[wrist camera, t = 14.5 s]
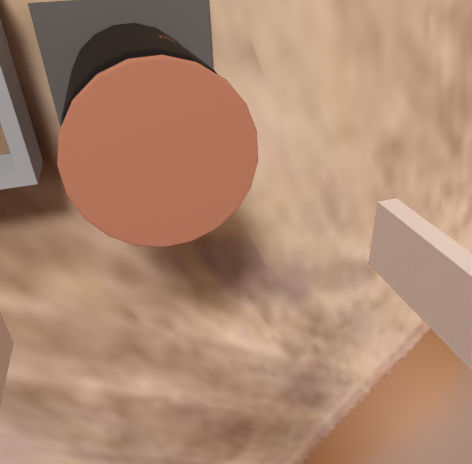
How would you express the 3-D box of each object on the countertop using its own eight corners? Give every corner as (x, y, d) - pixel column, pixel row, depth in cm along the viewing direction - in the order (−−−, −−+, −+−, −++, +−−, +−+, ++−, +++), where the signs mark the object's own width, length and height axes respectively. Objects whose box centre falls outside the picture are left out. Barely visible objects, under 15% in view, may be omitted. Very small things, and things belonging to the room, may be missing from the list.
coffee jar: (208, 127, 41) (274, 213, 26) (100, 162, 40) (106, 273, 25) (175, 5, 35) (236, 27, 20) (47, 42, 34) (13, 94, 19)
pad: (73, 171, 40) (72, 173, 40) (28, 3, 33) (27, 3, 32) (217, 150, 43) (218, 152, 43) (206, -8, 36) (207, -8, 35)
